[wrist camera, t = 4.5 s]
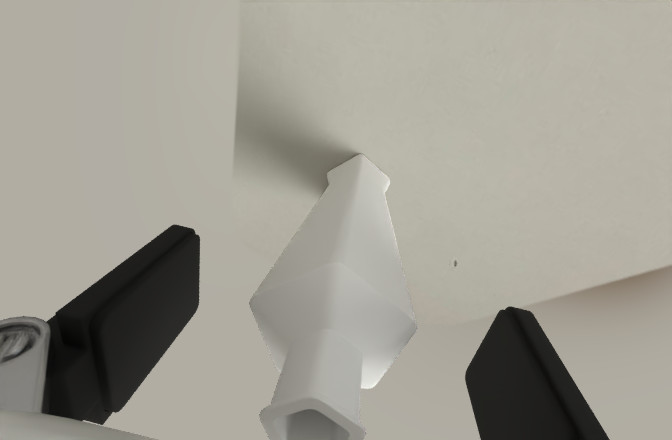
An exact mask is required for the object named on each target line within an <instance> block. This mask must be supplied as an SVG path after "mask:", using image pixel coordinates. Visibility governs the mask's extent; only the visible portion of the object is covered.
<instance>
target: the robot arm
mask: <svg viewBox="0 0 672 440" xmlns="http://www.w3.org/2000/svg"><path fill="white" fill-rule="evenodd" d="M199 260H200V237H199V235H196V234H195V231H194V229H191V228H187V227H183V226H179V225H172V226H171V227H169V228H168V229H167V230H165V231H164V232H163V233H161V234H160V235H159V236H157V237H156V238H155V239H153V240H152V241H151V242H149V243H148V244H147V245H145V246H144V247H143V248H141V249H140V250H139V251H137V252H136V253H135V254H133V255H132V256H131V257H129V258H128V259H127V260H125V261H124V262H123V263H121V264H120V265H119V266H117V267H116V268H115V269H113V270H112V271H111V272H109V273H108V274H107V275H105V276H104V277H103V278H101V279H100V280H99V281H97V282H96V283H95V284H93V285H92V286H91V287H89V288H88V289H87V290H85V291H84V292H83V293H81V294H80V295H79V296H77V297H76V298H75V299H73V300H72V301H71V302H69V303H68V304H67V305H65V306H64V307H63V308H61V309H60V310H58V311H57V312H56V315H55V316H53V317H52V318H51V319H50V320H48V321H47V322H45V321H44V320H42V319H39V318H36V317H25V316H23V317H14V318H8V319H4V320H0V440H156V439H153V438H149V437H145V436H141V435H137V434H133V433H129V432H124V431H120V430H116V429H112V428H108V427H103V426H99V425H95V424H91V423H87V422H82V421H83V420H86V421H90V422H94V423H97V424H101V425H103V424H104V423H105V421H106V420H107V419H108V417H109V416H110V415H111V414H112V412H119V411H120V410H121V409H122V408H123V407H124V406H125V404H126V403H127V402H128V400H129V399H130V398H131V396H132V395H133V394H134V392H135V391H136V390H137V388H138V387H139V386H140V384H141V383H142V382H143V381H144V379H145V378H146V377H147V375H148V374H149V373H150V371H151V370H152V369H153V368H154V366H155V365H156V364H157V362H158V361H159V360H160V358H161V357H162V356H163V354H164V353H165V352H166V351H167V349H168V348H169V347H170V345H171V344H172V343H173V341H174V340H175V339H176V337H177V336H178V334H180V332H181V331H182V330H183V328H184V327H185V325H186V324H187V323H188V322H189V320H190V319H191V318H192V317H193V315H194V314H195V312H196V310H197V308H198V305H199V263H200V261H199ZM465 380H466V385H467V389H468V392H469V396H470V400H471V404H472V408H473V412H474V415H475V419H476V423H477V427H478V431H479V434H480V438H481V440H609V438H608V436H607V435H606V433H605V431H604V430H603V428H602V427H601V425H600V423H599V422H598V420H597V418H596V417H595V415H594V413H593V412H592V410H591V409H590V407H589V405H588V404H587V402H586V400H585V399H584V397H583V395H582V394H581V392H580V390H579V389H578V387H577V386H576V384H575V382H574V381H573V379H572V377H571V376H570V374H569V373H568V371H567V369H566V368H565V366H564V364H563V363H562V361H561V359H560V358H559V356H558V354H557V353H556V351H555V349H554V348H553V346H552V344H551V343H550V342H549V340H548V338H547V336H546V335H545V333H544V331H543V330H542V328H541V326H540V325H539V323H538V322H537V320H536V318H535V317H534V315H533V314H532V313H531V312H530V311H527V310H523V309H519V308H515V307H507V308H506V309H505V310H500V311H499V313H498V314H497V316H496V318H495V320H494V321H493V323H492V325H491V327H490V329H489V330H488V332H487V334H486V336H485V338H484V340H483V341H482V343H481V345H480V347H479V349H478V350H477V352H476V354H475V356H474V358H473V359H472V361H471V363H470V365H469V366H468V368H467V371H466V375H465Z"/></svg>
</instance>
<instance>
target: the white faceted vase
mask: <svg viewBox="0 0 672 440" xmlns="http://www.w3.org/2000/svg"><path fill="white" fill-rule="evenodd" d="M327 179H328V183H329V186H328V187H327V189H326V190H325V191H324V193H323V194H322V196H321V197H320V199H319V200H318V202H317V203H316V205H315V206H314V208H313V209H312V210H311V212H310V213H309V215H308V216H307V218H306V219H305V221H304V222H303V224H302V225H301V226H300V228H299V229H298V231H297V232H296V234H295V235H294V237H293V238H292V240H291V241H290V243H289V244H288V245H287V247H286V248H285V250H284V251H283V253H282V254H281V256H280V257H279V259H278V260H277V261H276V263H275V264H274V266H273V267H272V269H271V270H270V272H269V273H268V275H267V276H266V278H265V279H264V280H263V282H262V283H261V285H260V286H259V288H258V289H257V291H256V292H255V294H254V295H253V296H252V298H251V300H250V303H249V304H250V307H251V310H252V312H253V315H254V317H255V319H256V322H257V324H258V327H259V329H260V331H261V334H262V336H263V339H264V340H265V343H266V346H267V348H268V350H269V353H270V355H271V357H272V360H273V362H274V365H275V367H276V369H277V371H278V372H279V373H281V374H280V377H279V380H278V383H277V386H276V389H275V392H274V396H273V398H272V402H271V405H269V406H267V407H266V408H264V409H263V410H262V411H261V412H260V414H259V416H260V420H261V423H262V425H263V427H264V429H265V431H266V433H267V435H268V437H269V439H270V440H363V439H364V437H365V435H366V432H365V429H364V427H363V425H362V424H361V423H360V422H359V413H360V396H361V388H364V389H370V388H373V387H374V386H375V385H376V384H377V383H378V382H379V380H380V379H381V378H382V376H383V375H384V374H385V372H386V371H387V369H388V368H389V367H390V366H391V364H392V363H393V362H394V360H395V359H396V358H397V356H398V355H399V354H400V352H401V350H402V349H403V348H404V347H405V346H406V344H407V343H408V341H409V340H410V339H411V337H412V336H413V335H414V333H415V332H416V330H417V324H416V320H415V316H414V311H413V307H412V303H411V299H410V295H409V291H408V287H407V283H406V279H405V275H404V271H403V267H402V263H401V259H400V254H399V250H398V246H397V242H396V238H395V234H394V230H393V226H392V222H391V218H390V214H389V210H388V206H387V201H386V197H385V192H386V190H387V188H388V186H389V184H390V179H389V178H388V177H387V176H386V175H385V174H384V173H383V172H382V171H381V170H379V169H378V168H377V167H376V166H375V165H374V164H373V163H372V162H371V161H370V160H369V159H367V158H366V157H365V156H364V155H362V154H359V155H357V156H355V157H353V158H351V159H350V160H348V161H346V162H344V163H342V164H341V165H339V166H337V167H335V168H334V169H332V170H330V171H329V172H328V173H327Z"/></svg>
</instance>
